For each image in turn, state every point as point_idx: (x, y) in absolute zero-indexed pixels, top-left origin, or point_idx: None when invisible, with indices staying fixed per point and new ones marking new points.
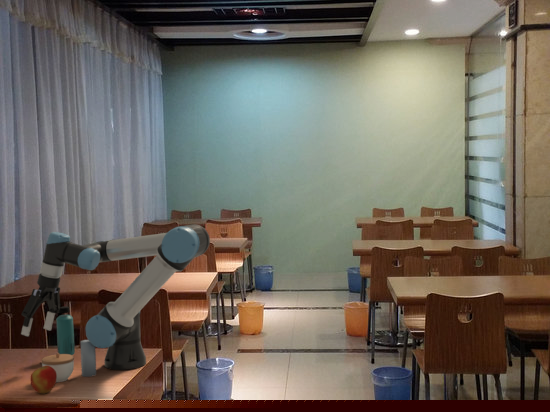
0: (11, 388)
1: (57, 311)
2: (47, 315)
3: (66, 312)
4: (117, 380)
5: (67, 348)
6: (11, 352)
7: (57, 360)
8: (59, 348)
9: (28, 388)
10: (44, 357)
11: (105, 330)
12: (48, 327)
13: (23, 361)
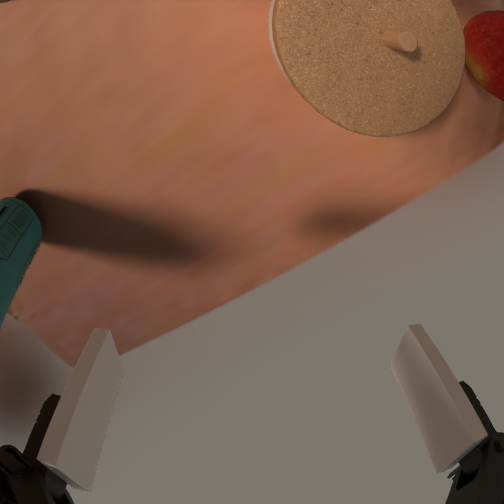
0: (430, 170)
1: (8, 464)
2: (94, 460)
3: None
4: None
5: (11, 223)
6: None
7: (449, 24)
8: (30, 252)
9: None
10: (384, 131)
11: None
12: (107, 359)
13: (125, 307)
